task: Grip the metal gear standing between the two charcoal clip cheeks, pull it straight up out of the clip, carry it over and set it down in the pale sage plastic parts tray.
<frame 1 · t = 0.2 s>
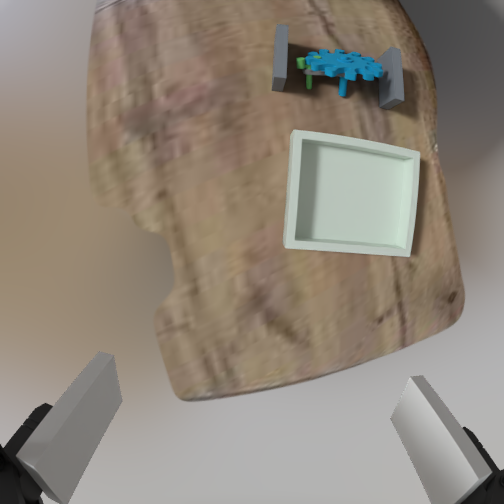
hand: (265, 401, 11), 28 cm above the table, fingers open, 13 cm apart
gear: (332, 73, 32), on the table
fuse clip: (333, 72, 32), on the table
parts tray: (350, 194, 36), on the table
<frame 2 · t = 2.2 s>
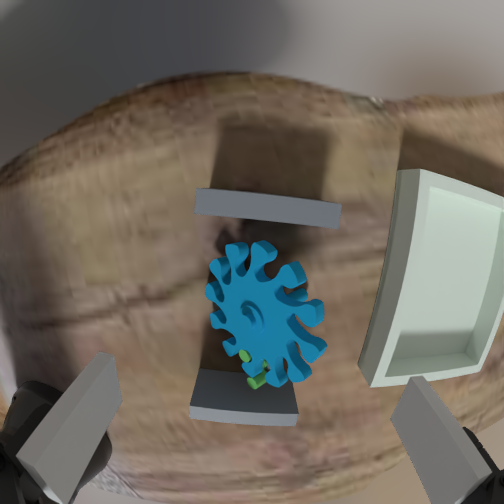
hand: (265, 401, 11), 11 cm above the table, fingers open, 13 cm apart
gear: (256, 301, 22), on the table
fuse clip: (253, 302, 22), on the table
parts tray: (443, 280, 22), on the table
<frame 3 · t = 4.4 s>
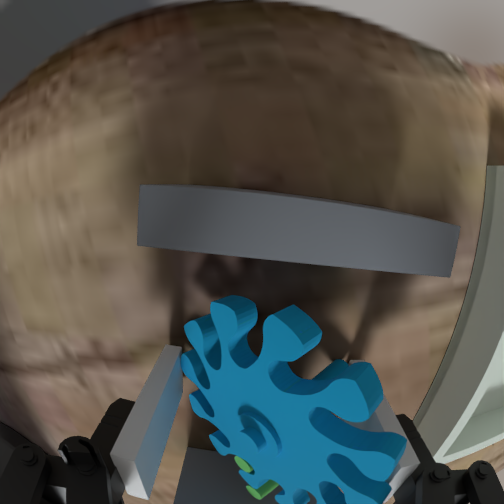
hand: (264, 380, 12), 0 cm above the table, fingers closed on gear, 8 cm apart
gear: (265, 375, 13), on the table, touching gripper
fuse clip: (267, 374, 13), on the table
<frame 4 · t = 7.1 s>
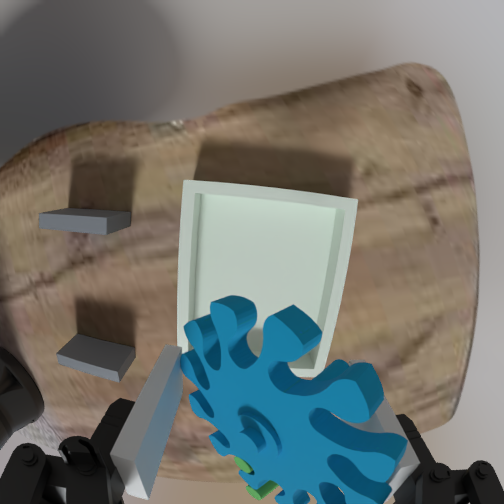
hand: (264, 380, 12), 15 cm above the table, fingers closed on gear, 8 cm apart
gear: (265, 376, 13), point 15 cm above the table, touching gripper
fuse clip: (98, 286, 28), on the table
parts tray: (260, 278, 27), on the table
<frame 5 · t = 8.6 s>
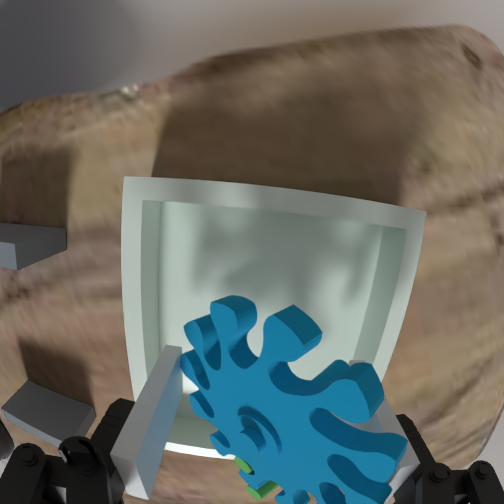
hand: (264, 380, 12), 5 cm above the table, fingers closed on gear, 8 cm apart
gear: (265, 376, 13), point 4 cm above the table, touching gripper
fuse clip: (39, 328, 17), on the table
parts tray: (260, 332, 17), on the table
when the fingers open (3 cm above the table, at t = 9.7 s): gear drops 2 cm, resting on parts tray.
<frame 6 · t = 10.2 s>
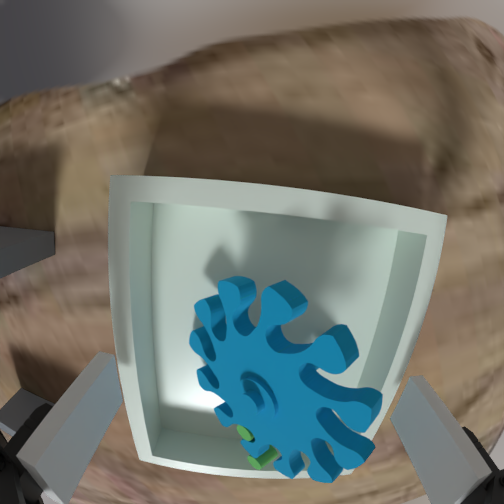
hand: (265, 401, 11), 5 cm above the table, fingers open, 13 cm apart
gear: (264, 352, 15), point 1 cm above the table, touching parts tray
fuse clip: (30, 336, 16), on the table
parts tray: (262, 345, 15), on the table
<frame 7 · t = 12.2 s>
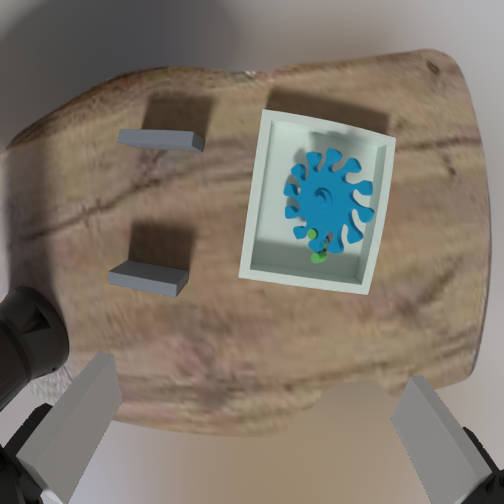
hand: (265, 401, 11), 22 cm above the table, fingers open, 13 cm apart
gear: (317, 204, 30), point 1 cm above the table, touching parts tray
fuse clip: (161, 208, 32), on the table
parts tray: (315, 202, 31), on the table
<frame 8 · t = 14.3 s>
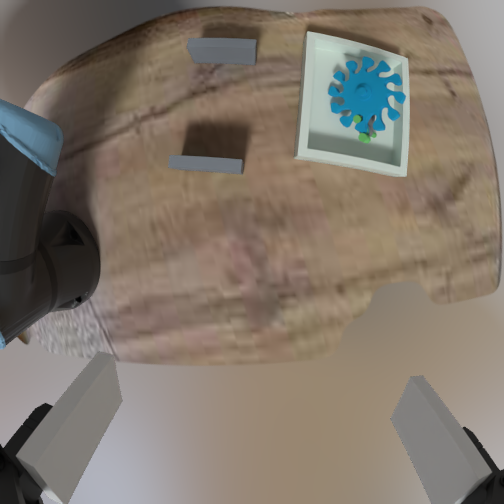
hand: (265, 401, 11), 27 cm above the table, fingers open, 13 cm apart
gear: (355, 106, 32), point 1 cm above the table, touching parts tray
fuse clip: (217, 109, 33), on the table
parts tray: (351, 105, 32), on the table
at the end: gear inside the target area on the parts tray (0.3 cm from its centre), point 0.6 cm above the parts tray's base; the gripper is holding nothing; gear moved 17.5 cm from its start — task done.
